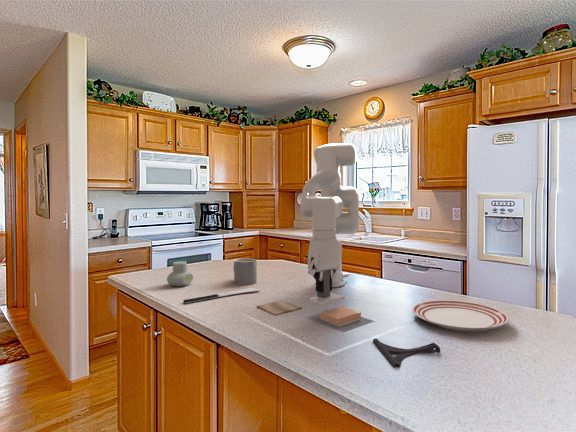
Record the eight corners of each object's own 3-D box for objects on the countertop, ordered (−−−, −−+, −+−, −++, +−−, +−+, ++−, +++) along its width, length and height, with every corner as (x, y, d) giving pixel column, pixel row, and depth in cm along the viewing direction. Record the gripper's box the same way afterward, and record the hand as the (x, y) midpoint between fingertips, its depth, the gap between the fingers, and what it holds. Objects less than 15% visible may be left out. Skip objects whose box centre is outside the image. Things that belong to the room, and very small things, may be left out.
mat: (336, 310, 126) (336, 308, 126) (374, 323, 114) (374, 321, 114) (306, 319, 118) (306, 317, 118) (343, 333, 105) (343, 331, 105)
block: (342, 305, 122) (360, 312, 116) (341, 312, 122) (360, 319, 116) (319, 312, 116) (338, 318, 109) (319, 319, 116) (338, 326, 109)
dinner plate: (409, 330, 108) (409, 319, 108) (413, 304, 134) (414, 295, 134) (517, 344, 98) (518, 332, 98) (500, 313, 124) (500, 303, 124)
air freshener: (180, 289, 155) (180, 265, 154) (164, 287, 158) (163, 264, 157) (195, 283, 165) (195, 260, 164) (180, 281, 168) (179, 259, 167)
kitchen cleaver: (249, 285, 158) (261, 287, 150) (250, 289, 158) (262, 292, 150) (177, 297, 140) (186, 301, 132) (177, 302, 140) (186, 305, 132)
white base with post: (309, 301, 119) (308, 267, 119) (331, 295, 126) (330, 263, 125) (322, 305, 115) (321, 269, 114) (344, 299, 121) (343, 265, 120)
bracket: (454, 367, 87) (454, 355, 87) (393, 370, 85) (393, 358, 85) (425, 342, 101) (425, 332, 101) (372, 345, 100) (372, 334, 99)
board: (281, 302, 135) (281, 300, 135) (301, 310, 126) (301, 307, 126) (256, 308, 128) (256, 305, 128) (275, 317, 120) (275, 314, 120)
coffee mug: (260, 283, 164) (260, 260, 164) (239, 286, 159) (239, 263, 159) (247, 277, 176) (247, 256, 175) (228, 279, 171) (227, 258, 170)
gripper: (333, 232, 128) (333, 284, 129) (297, 235, 118) (297, 292, 119) (349, 234, 122) (349, 289, 123) (313, 238, 112) (313, 298, 113)
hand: (323, 290), depth 121 cm, fingers closed on white base with post, 3 cm apart
